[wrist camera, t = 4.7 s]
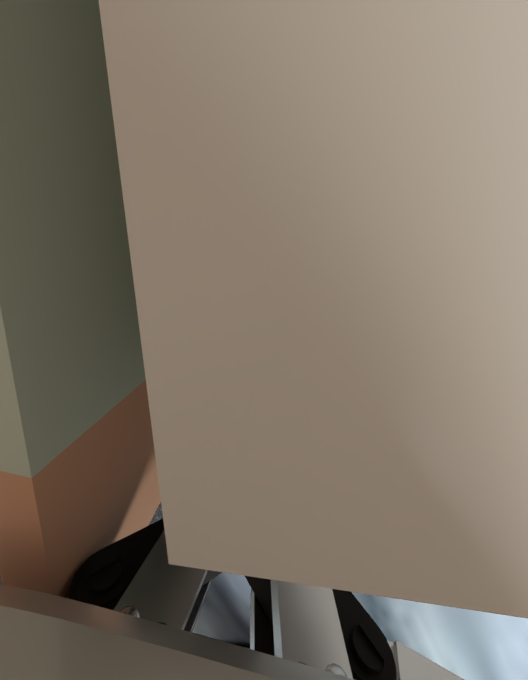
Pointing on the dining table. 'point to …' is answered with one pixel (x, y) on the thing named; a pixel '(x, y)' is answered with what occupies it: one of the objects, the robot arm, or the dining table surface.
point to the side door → (65, 306)
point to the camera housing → (333, 286)
